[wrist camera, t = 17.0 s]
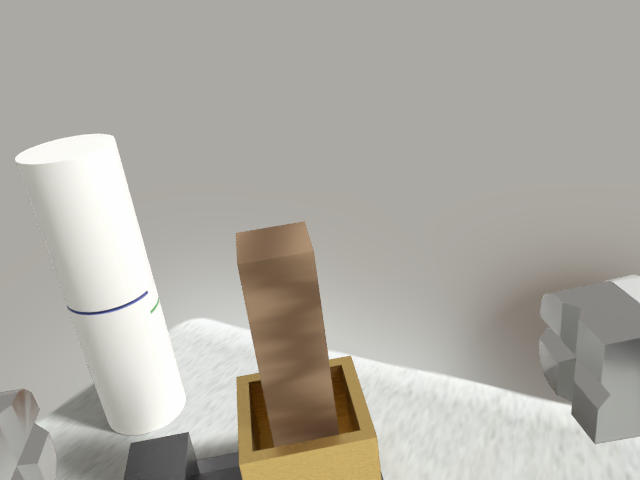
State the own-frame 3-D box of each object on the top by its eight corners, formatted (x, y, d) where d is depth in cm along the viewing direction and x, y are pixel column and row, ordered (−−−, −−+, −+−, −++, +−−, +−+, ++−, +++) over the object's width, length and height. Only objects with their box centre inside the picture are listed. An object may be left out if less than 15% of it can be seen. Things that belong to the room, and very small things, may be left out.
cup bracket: (118, 665, 35) (64, 544, 31) (146, 479, 48) (111, 374, 43) (417, 599, 36) (408, 473, 32) (368, 436, 49) (356, 329, 45)
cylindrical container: (91, 421, 55) (-6, 160, 44) (147, 374, 60) (73, 132, 49) (147, 445, 51) (57, 167, 40) (201, 392, 57) (134, 135, 46)
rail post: (281, 488, 38) (236, 265, 31) (276, 441, 41) (235, 232, 35) (345, 474, 38) (314, 251, 31) (334, 429, 42) (305, 221, 35)
